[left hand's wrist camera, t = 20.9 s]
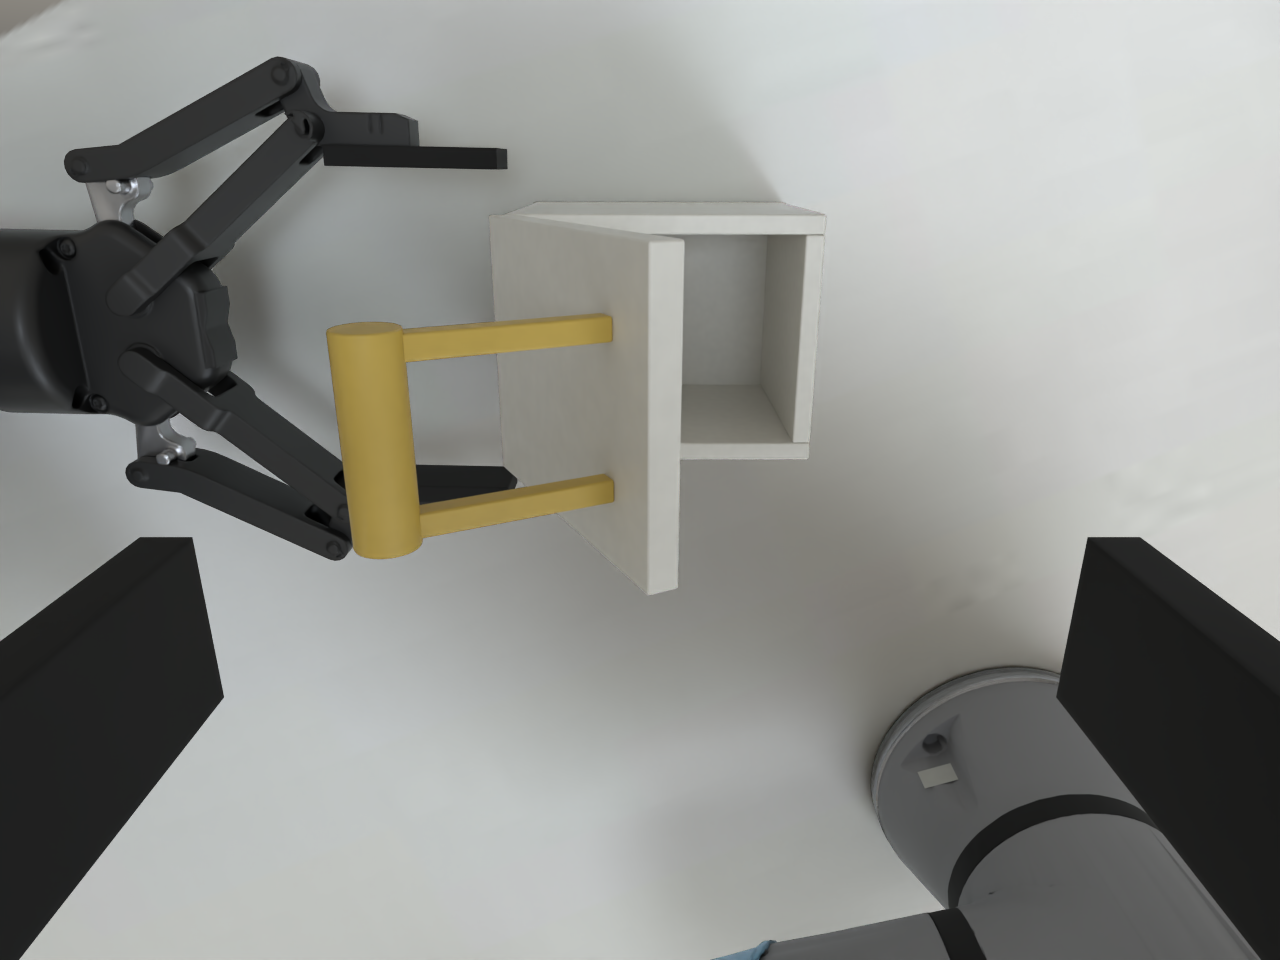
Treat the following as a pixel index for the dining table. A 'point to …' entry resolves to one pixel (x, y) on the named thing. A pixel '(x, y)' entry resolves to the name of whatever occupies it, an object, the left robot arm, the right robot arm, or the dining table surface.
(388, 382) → the panel with yellow handle
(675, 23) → the dining table surface
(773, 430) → the chest
